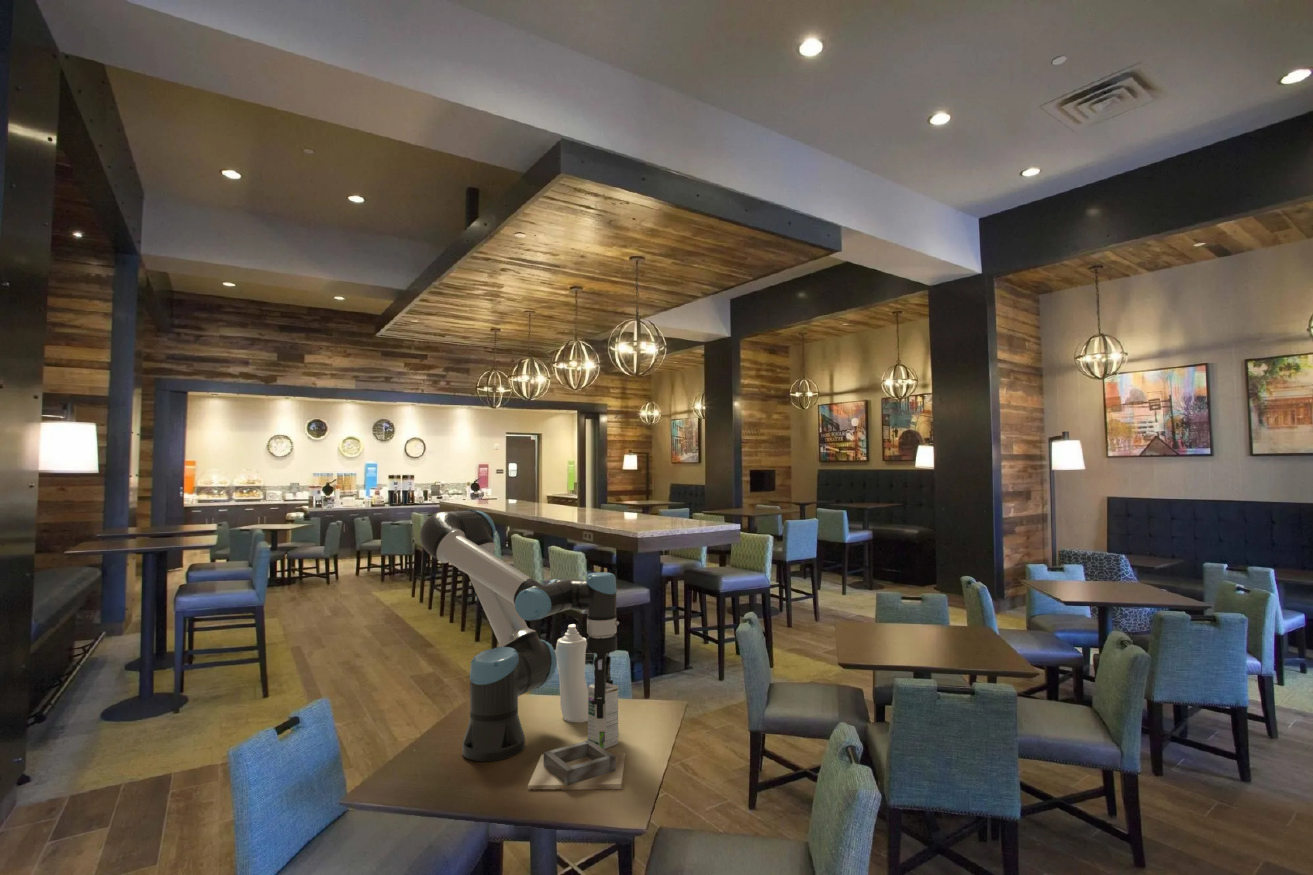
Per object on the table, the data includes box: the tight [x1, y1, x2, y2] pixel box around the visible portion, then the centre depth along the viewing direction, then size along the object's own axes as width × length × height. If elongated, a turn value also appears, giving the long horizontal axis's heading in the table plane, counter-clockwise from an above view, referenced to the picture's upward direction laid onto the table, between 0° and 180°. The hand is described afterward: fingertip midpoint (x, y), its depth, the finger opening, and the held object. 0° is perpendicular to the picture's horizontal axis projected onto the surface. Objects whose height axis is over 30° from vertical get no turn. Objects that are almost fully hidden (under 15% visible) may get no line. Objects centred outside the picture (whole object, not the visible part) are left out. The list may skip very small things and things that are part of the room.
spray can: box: [554, 623, 588, 723], centre depth 182 cm, size 12×11×25 cm
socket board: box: [527, 739, 626, 791], centre depth 144 cm, size 20×17×4 cm
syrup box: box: [587, 683, 619, 750], centre depth 161 cm, size 6×6×14 cm
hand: (603, 720), depth 160 cm, fingers open, 13 cm apart
